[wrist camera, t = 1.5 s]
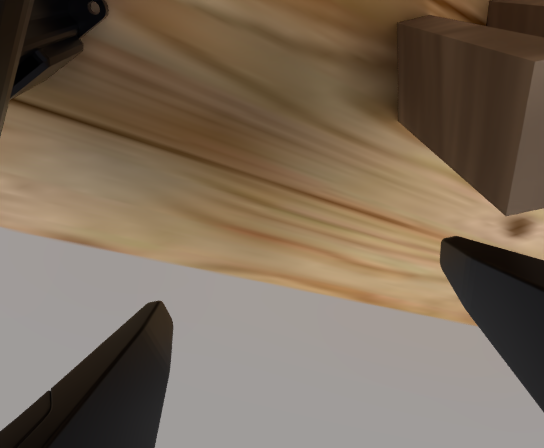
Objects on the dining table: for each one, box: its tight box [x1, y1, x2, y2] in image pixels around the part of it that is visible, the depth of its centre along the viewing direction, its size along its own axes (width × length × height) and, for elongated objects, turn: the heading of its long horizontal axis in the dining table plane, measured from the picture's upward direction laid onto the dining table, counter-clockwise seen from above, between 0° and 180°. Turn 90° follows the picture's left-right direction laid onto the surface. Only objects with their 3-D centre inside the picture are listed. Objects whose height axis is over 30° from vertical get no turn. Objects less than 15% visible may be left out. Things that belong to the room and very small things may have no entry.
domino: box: [397, 15, 544, 216], centre depth 15 cm, size 2×5×10 cm, turn 11°
